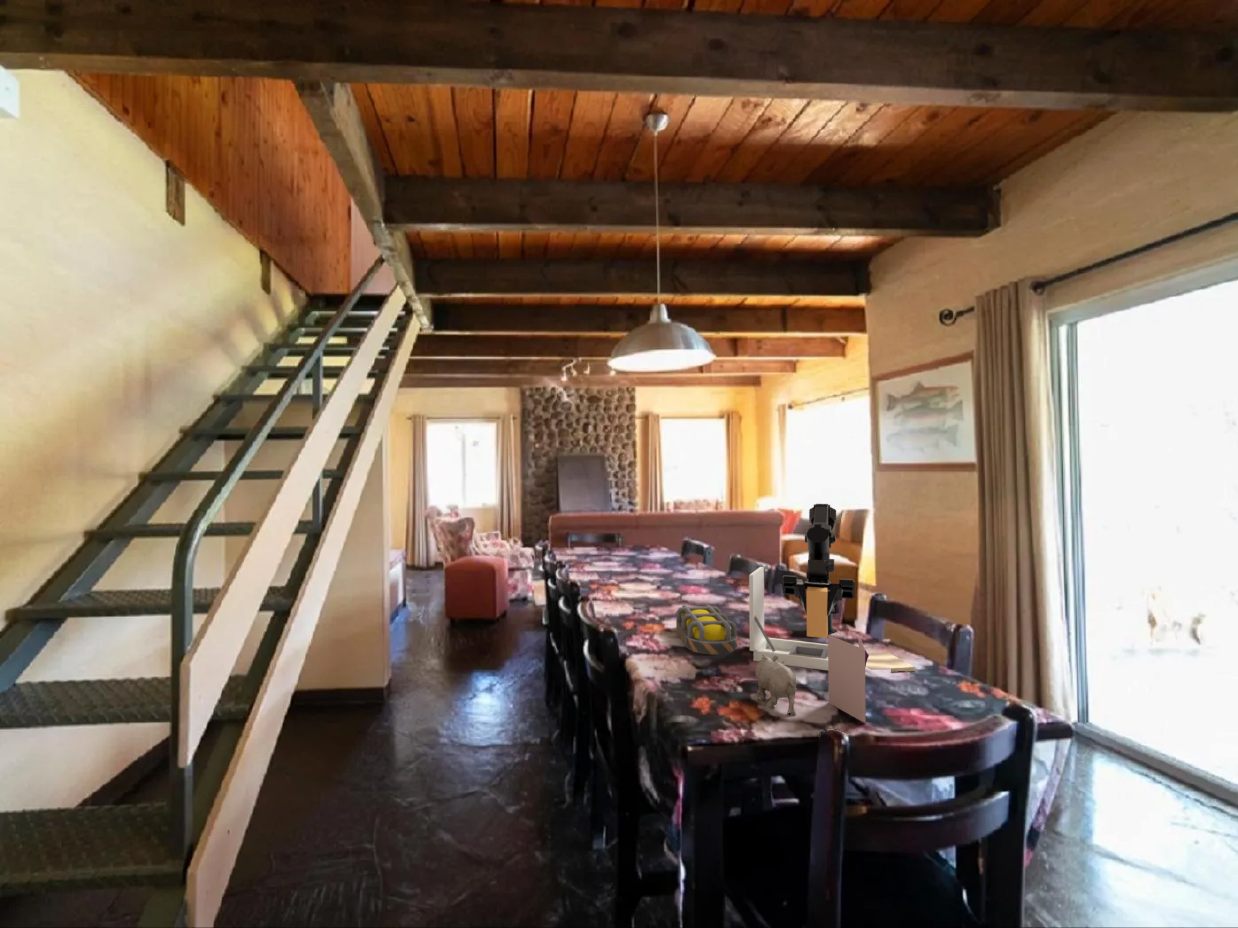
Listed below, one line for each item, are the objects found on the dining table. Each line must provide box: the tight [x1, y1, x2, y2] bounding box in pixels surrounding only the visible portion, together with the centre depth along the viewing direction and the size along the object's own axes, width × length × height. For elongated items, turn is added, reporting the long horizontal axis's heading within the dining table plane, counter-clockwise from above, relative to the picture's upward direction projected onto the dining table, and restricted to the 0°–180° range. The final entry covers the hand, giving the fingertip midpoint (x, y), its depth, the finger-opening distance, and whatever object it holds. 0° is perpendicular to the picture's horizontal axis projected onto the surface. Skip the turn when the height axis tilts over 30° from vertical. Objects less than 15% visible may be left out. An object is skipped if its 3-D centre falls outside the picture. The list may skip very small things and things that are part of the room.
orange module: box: [806, 587, 829, 639], centre depth 159 cm, size 5×5×12 cm
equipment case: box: [748, 566, 828, 671], centre depth 162 cm, size 14×21×24 cm, turn 65°
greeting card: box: [827, 634, 869, 724], centre depth 129 cm, size 11×7×15 cm, turn 164°
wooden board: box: [865, 652, 916, 673], centre depth 159 cm, size 12×12×1 cm
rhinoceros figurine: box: [754, 654, 798, 717], centre depth 134 cm, size 8×14×15 cm
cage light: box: [675, 603, 738, 655], centre depth 183 cm, size 15×8×30 cm
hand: (817, 614), depth 158 cm, fingers closed on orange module, 5 cm apart
